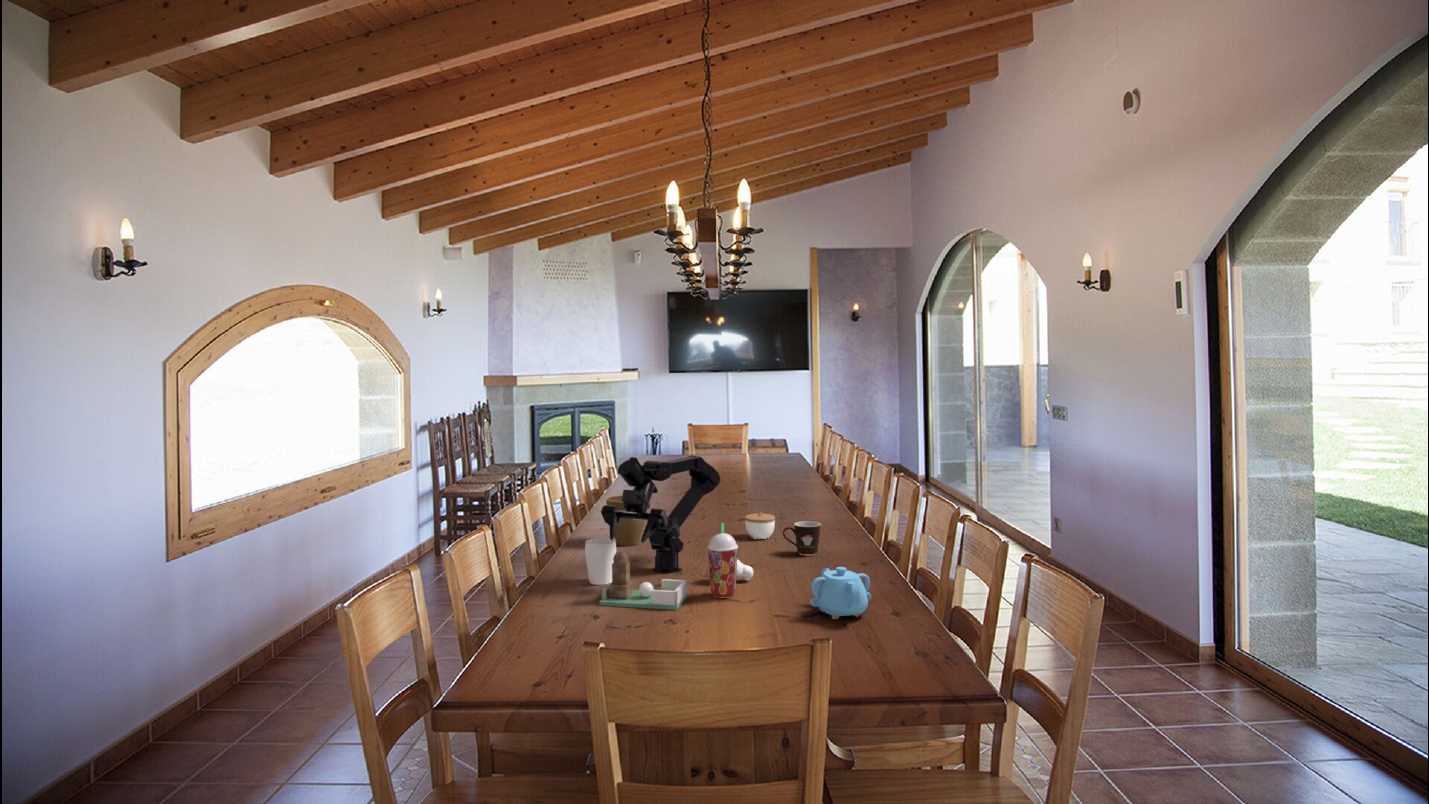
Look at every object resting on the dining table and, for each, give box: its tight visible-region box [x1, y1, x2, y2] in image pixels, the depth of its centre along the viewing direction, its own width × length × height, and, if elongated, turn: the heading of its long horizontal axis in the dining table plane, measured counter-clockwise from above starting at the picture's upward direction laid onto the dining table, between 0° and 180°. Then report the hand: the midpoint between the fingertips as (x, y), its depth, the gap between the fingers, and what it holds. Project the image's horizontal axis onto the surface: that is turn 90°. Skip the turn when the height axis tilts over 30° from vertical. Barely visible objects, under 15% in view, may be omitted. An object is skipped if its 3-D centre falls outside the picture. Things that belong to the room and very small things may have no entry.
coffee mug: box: [782, 520, 822, 554], centre depth 263 cm, size 12×9×10 cm
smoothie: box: [707, 522, 739, 598], centre depth 218 cm, size 8×8×20 cm
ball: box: [638, 581, 655, 597], centre depth 214 cm, size 4×4×4 cm
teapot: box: [809, 566, 872, 617], centre depth 203 cm, size 20×17×12 cm
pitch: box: [599, 578, 689, 611], centre depth 214 cm, size 21×12×4 cm, turn 78°
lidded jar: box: [744, 511, 776, 540], centre depth 286 cm, size 11×11×9 cm
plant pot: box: [605, 494, 648, 547], centre depth 279 cm, size 15×15×16 cm
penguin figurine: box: [736, 558, 754, 581], centre depth 232 cm, size 6×8×12 cm
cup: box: [584, 537, 617, 586], centre depth 232 cm, size 9×9×12 cm
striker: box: [608, 551, 635, 598], centre depth 215 cm, size 5×6×12 cm
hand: (626, 540), depth 223 cm, fingers open, 9 cm apart
